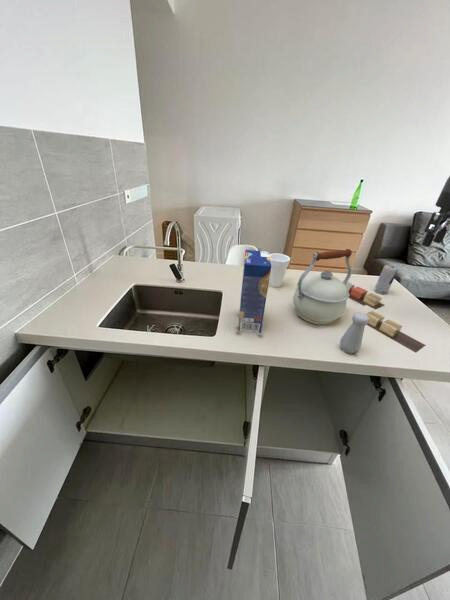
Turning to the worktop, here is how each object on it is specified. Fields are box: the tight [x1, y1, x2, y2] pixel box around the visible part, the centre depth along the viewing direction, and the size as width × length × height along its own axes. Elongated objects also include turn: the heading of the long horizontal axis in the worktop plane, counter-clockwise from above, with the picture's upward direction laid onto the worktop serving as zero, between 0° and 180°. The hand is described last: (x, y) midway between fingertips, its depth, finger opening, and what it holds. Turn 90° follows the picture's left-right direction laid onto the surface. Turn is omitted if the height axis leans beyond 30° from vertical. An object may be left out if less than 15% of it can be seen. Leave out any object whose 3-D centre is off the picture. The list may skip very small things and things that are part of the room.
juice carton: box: [237, 249, 271, 334], centre depth 79 cm, size 12×8×24 cm, turn 175°
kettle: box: [292, 248, 354, 325], centre depth 86 cm, size 25×18×25 cm
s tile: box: [350, 286, 368, 300], centre depth 103 cm, size 4×4×3 cm
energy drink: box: [374, 264, 399, 295], centre depth 107 cm, size 5×5×12 cm
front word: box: [365, 310, 427, 353], centre depth 83 cm, size 7×20×4 cm, turn 32°
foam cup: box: [268, 252, 291, 288], centre depth 108 cm, size 10×9×13 cm
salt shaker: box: [339, 311, 369, 355], centre depth 72 cm, size 6×6×13 cm
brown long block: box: [345, 281, 386, 311], centre depth 103 cm, size 7×20×4 cm, turn 32°
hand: (431, 244), depth 80 cm, fingers open, 8 cm apart
